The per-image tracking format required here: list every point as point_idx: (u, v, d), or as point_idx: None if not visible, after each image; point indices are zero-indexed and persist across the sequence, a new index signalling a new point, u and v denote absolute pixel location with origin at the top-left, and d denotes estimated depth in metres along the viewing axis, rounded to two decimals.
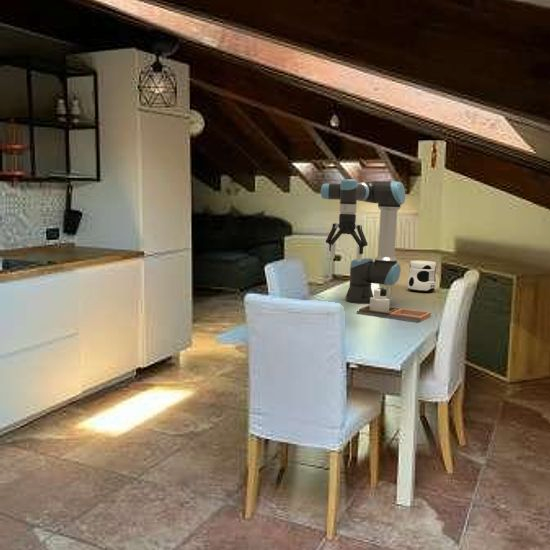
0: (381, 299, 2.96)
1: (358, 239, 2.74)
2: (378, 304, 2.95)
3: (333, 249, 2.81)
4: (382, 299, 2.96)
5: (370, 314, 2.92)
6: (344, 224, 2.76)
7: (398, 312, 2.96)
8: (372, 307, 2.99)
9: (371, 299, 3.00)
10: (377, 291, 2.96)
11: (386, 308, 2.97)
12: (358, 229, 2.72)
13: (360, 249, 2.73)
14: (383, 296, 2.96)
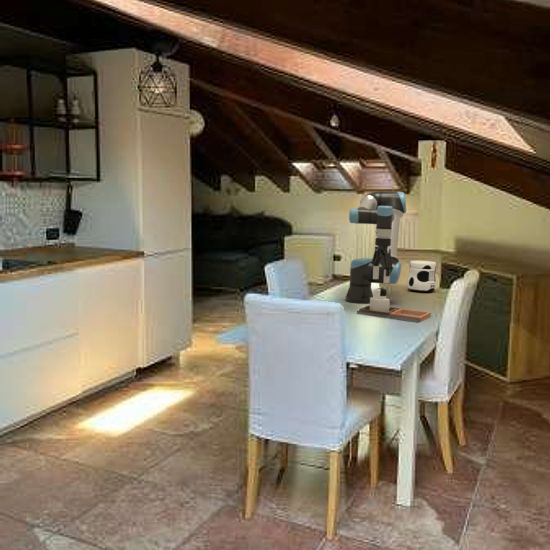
0: (381, 299, 2.96)
1: None
2: (378, 304, 2.95)
3: (375, 270, 3.03)
4: (382, 299, 2.96)
5: (370, 314, 2.92)
6: (380, 247, 2.96)
7: (398, 312, 2.96)
8: (372, 307, 2.99)
9: (371, 299, 3.00)
10: (377, 291, 2.96)
11: (386, 308, 2.97)
12: (385, 252, 2.89)
13: (386, 271, 2.90)
14: (383, 296, 2.96)
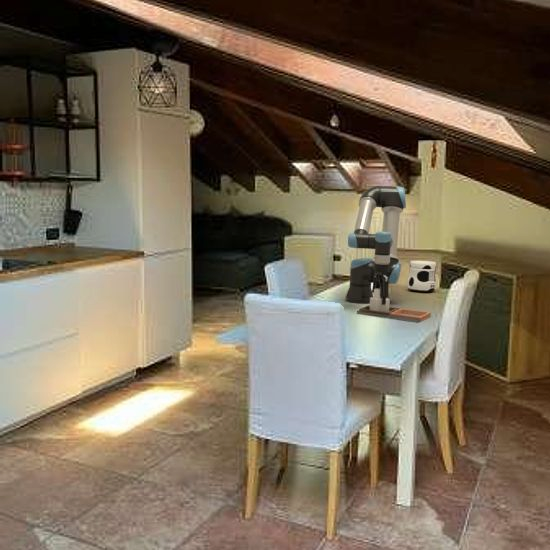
0: None
1: None
2: (378, 304, 2.95)
3: None
4: None
5: (370, 314, 2.92)
6: (378, 271, 2.98)
7: (398, 312, 2.96)
8: (372, 307, 2.99)
9: (371, 299, 3.00)
10: (377, 291, 2.96)
11: (386, 308, 2.97)
12: (383, 280, 2.92)
13: (382, 300, 2.94)
14: None
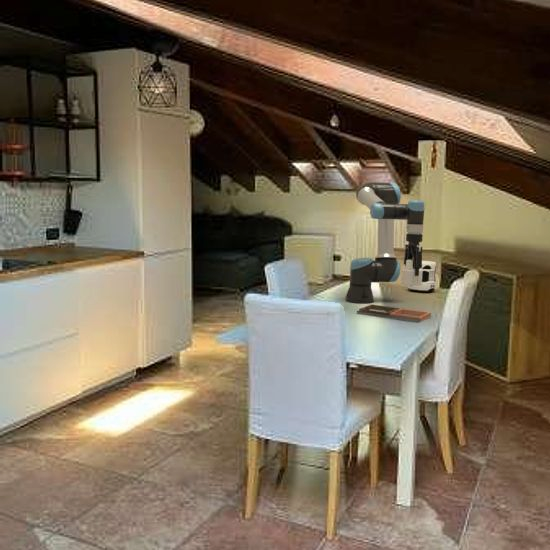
0: None
1: None
2: (411, 275, 2.85)
3: None
4: None
5: (370, 314, 2.92)
6: (410, 242, 2.88)
7: (398, 312, 2.96)
8: (404, 278, 2.89)
9: (403, 271, 2.89)
10: (409, 262, 2.86)
11: (419, 280, 2.87)
12: (416, 250, 2.81)
13: (415, 271, 2.84)
14: None
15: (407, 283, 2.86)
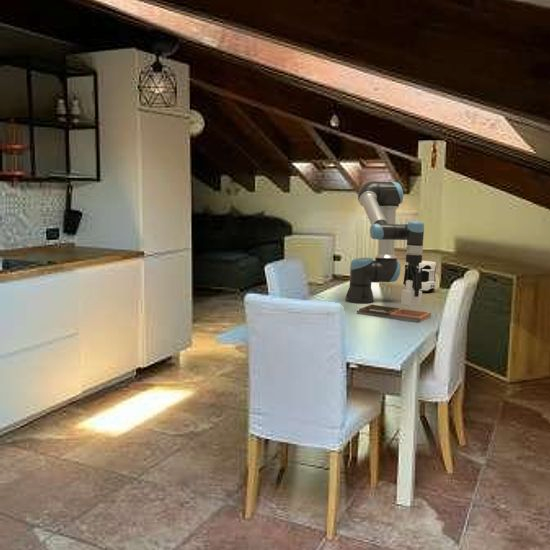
0: None
1: None
2: (410, 296, 2.86)
3: None
4: None
5: (370, 314, 2.92)
6: (410, 262, 2.89)
7: (398, 312, 2.96)
8: (404, 299, 2.90)
9: (403, 291, 2.91)
10: (409, 283, 2.87)
11: (419, 300, 2.88)
12: (416, 272, 2.83)
13: (415, 292, 2.85)
14: None
15: (407, 304, 2.87)
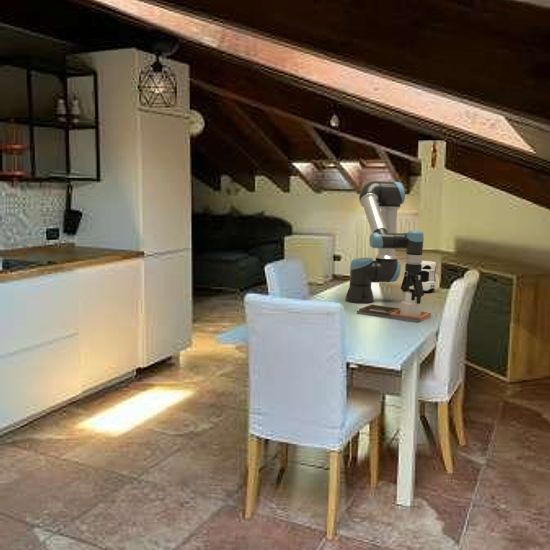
0: (412, 303, 2.88)
1: None
2: (409, 308, 2.87)
3: (404, 296, 2.97)
4: (413, 303, 2.88)
5: (370, 314, 2.92)
6: (410, 273, 2.89)
7: (398, 312, 2.96)
8: (403, 311, 2.91)
9: (402, 303, 2.92)
10: (408, 295, 2.88)
11: (418, 313, 2.89)
12: (416, 279, 2.83)
13: (417, 299, 2.83)
14: (414, 300, 2.88)
15: None
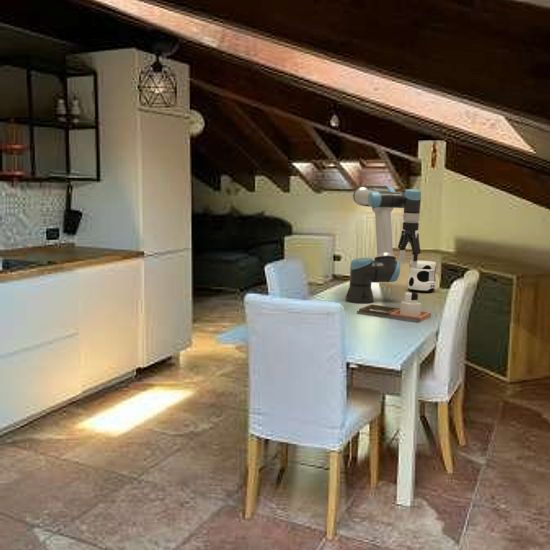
0: (412, 303, 2.88)
1: None
2: (409, 308, 2.87)
3: (401, 254, 3.01)
4: (413, 303, 2.88)
5: (370, 314, 2.92)
6: (407, 232, 2.93)
7: (398, 312, 2.96)
8: (403, 311, 2.91)
9: (402, 303, 2.92)
10: (408, 295, 2.88)
11: (418, 313, 2.89)
12: (413, 237, 2.86)
13: (414, 256, 2.87)
14: (414, 300, 2.88)
15: None
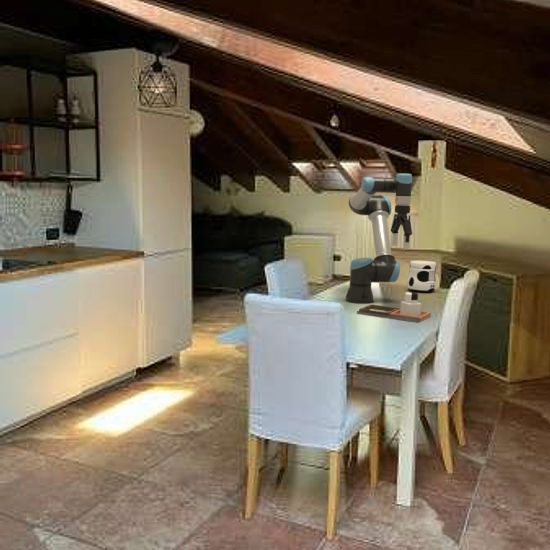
0: (412, 303, 2.88)
1: None
2: (409, 308, 2.87)
3: (394, 237, 3.10)
4: (413, 303, 2.88)
5: (370, 314, 2.92)
6: (399, 214, 3.03)
7: (398, 312, 2.96)
8: (403, 311, 2.91)
9: (402, 303, 2.92)
10: (408, 295, 2.88)
11: (418, 313, 2.89)
12: (405, 219, 2.96)
13: (406, 237, 2.96)
14: (414, 300, 2.88)
15: None
